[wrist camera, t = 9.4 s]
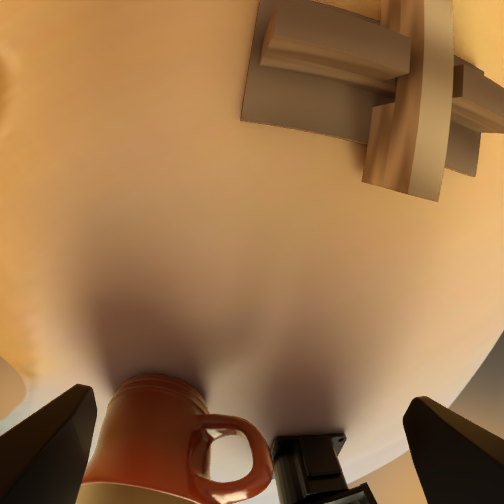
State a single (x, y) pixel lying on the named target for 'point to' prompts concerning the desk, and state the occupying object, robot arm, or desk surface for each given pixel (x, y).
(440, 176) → the oak plate
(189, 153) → the desk surface
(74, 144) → the desk surface
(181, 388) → the mug
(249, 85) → the joint base
